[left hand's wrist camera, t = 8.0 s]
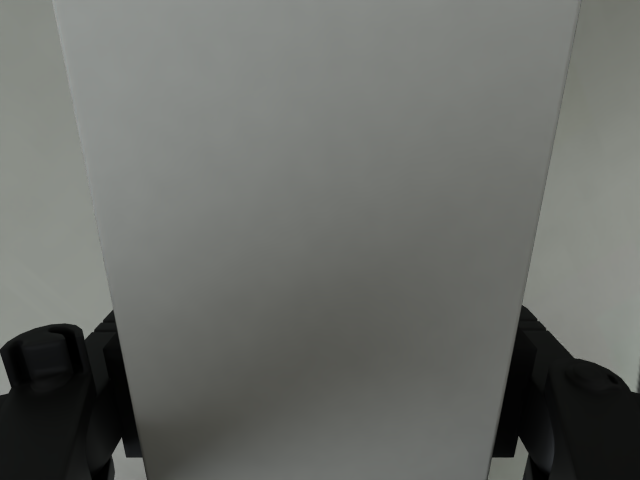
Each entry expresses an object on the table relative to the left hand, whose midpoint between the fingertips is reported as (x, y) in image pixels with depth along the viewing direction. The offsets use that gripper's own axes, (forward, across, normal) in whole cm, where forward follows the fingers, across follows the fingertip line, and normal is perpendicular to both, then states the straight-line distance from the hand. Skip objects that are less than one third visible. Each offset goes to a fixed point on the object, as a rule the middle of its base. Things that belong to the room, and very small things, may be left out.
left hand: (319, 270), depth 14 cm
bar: (+1, 0, -10) cm, 10 cm away
